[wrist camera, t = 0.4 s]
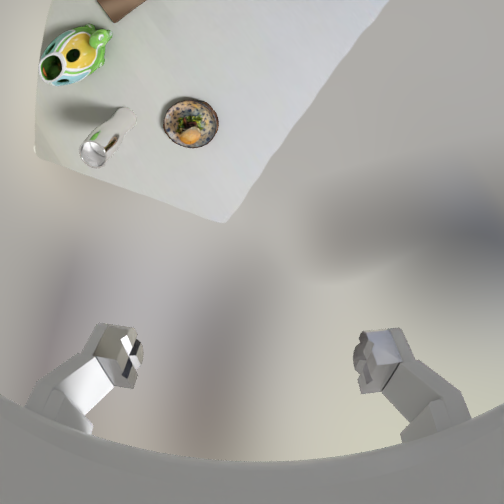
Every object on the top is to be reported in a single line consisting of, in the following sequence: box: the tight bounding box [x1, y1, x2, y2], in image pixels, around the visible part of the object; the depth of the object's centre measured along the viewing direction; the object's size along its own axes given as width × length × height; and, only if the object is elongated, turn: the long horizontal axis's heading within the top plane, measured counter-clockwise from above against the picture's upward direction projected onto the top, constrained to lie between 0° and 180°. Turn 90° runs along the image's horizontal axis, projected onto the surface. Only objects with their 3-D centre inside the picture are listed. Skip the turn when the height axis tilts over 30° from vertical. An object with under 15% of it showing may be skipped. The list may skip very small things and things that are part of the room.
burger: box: [163, 100, 219, 148], centre depth 52 cm, size 12×12×8 cm
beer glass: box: [79, 107, 137, 168], centre depth 48 cm, size 7×7×15 cm
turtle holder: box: [38, 24, 112, 86], centre depth 34 cm, size 12×18×12 cm
